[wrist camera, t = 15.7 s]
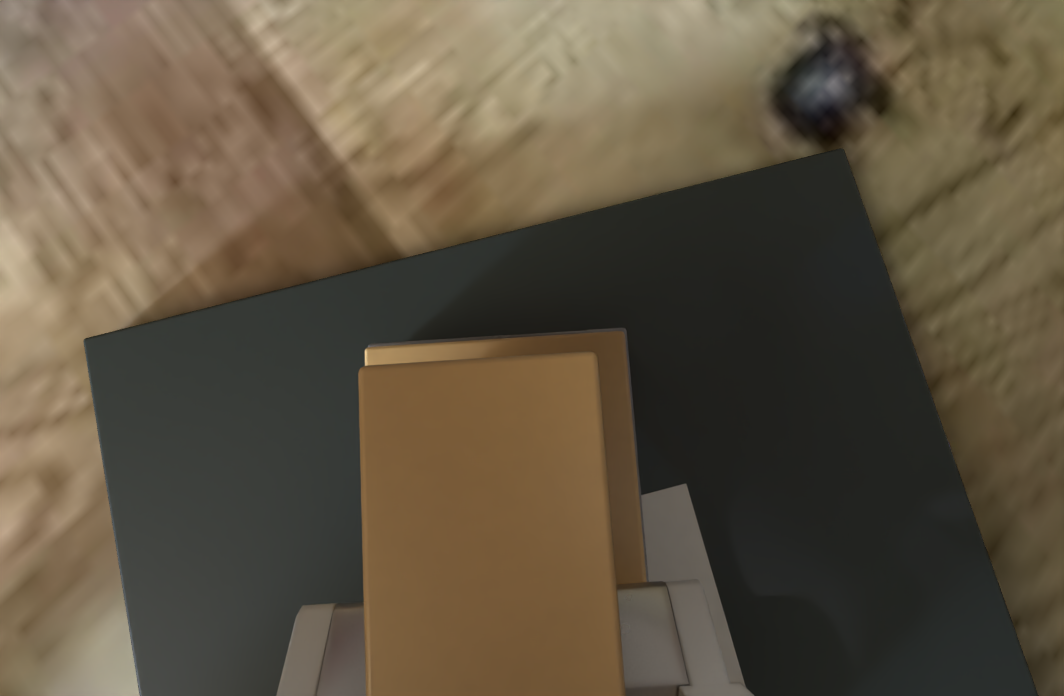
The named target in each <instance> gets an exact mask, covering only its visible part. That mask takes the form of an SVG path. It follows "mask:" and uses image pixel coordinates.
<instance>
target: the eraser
mask: <svg viewBox="0 0 1064 696" xmlns="http://www.w3.org/2000/svg"><path fill="white" fill-rule="evenodd" d="M358 386H359V428H360V471H361V513H362V555H363V597H364V639H365V682H366V696H626V691H625V678H624V666H623V654H622V641H621V629H620V617H619V604H618V592H617V585H618V584H630V583H642V582H649V578H648V567H647V555H646V544H645V533H644V521H643V510H642V499H641V487H640V476H639V465H638V453H637V442H636V431H635V420H634V408H633V397H632V386H631V374H630V363H629V352H628V340H627V331H626V329H625V328H608V329H593V330H577V331H561V332H546V333H530V334H515V335H499V336H483V337H468V338H452V339H436V340H421V341H405V342H389V343H374V344H370V345H368V348H366V349H365V366H364V367H362V368H360V370H359V373H358Z"/></svg>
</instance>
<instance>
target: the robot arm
mask: <svg viewBox="0 0 1064 696" xmlns="http://www.w3.org/2000/svg"><path fill="white" fill-rule="evenodd" d="M617 592H618V604H619V617H620V629H621V641H622V654H623V666H624V678H625V691H626V696H754V695H753V694H752V693H751V692H750V691H749V690H748V689H747V688H746V687H745V686H744V685H743V684H742V683H730V679H729V676H728V672H727V669H726V665H725V662H724V658H723V655H722V651H721V647H720V644H719V640H718V637H717V633H716V630H715V626H714V623H713V619H712V616H711V612H710V608H709V605H708V601H707V598H706V594H705V591H704V587H703V585H702V584H701V582H700V581H699V580H698V579H693V580H680V581H668V582H663V581H654V582H642V583H630V584H618V585H617ZM276 696H366V682H365V639H364V602H357V603H332V604H316V605H302V607H301V609H300V611H299V612H298V614H297V616H296V619H295V623H294V627H293V631H292V635H291V639H290V643H289V647H288V651H287V655H286V659H285V663H284V667H283V671H282V675H281V679H280V683H279V687H278V691H277V695H276Z"/></svg>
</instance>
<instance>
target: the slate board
mask: <svg viewBox="0 0 1064 696" xmlns="http://www.w3.org/2000/svg"><path fill="white" fill-rule="evenodd" d="M608 328H625V329H626V331H627V340H628V352H629V363H630V374H631V386H632V397H633V408H634V420H635V431H636V442H637V453H638V465H639V476H640V487H641V499H642V510H643V521H644V533H645V544H646V555H647V567H648V578H649V582H654V581H663V582H668V581H680V580H693V579H698V580H699V581H700V582H701V584H702V585H703V587H704V591H705V594H706V598H707V601H708V605H709V608H710V612H711V616H712V619H713V623H714V626H715V630H716V633H717V637H718V640H719V644H720V647H721V651H722V655H723V658H724V662H725V665H726V669H727V672H728V676H729V679H730V683H742V684H743V685H744V686H745V687H746V688H747V689H748V690H749V691H750V692H751V693H752V694H753V695H754V696H1038V693H1037V690H1036V687H1035V685H1034V682H1033V679H1032V676H1031V673H1030V671H1029V668H1028V665H1027V662H1026V659H1025V657H1024V654H1023V651H1022V648H1021V645H1020V643H1019V640H1018V637H1017V634H1016V631H1015V629H1014V626H1013V623H1012V620H1011V617H1010V614H1009V612H1008V609H1007V606H1006V603H1005V600H1004V598H1003V595H1002V592H1001V589H1000V586H999V584H998V581H997V578H996V575H995V572H994V570H993V567H992V564H991V561H990V558H989V556H988V553H987V550H986V547H985V544H984V542H983V539H982V536H981V533H980V530H979V527H978V525H977V522H976V519H975V516H974V513H973V511H972V508H971V505H970V502H969V499H968V497H967V494H966V491H965V488H964V485H963V483H962V480H961V477H960V474H959V471H958V469H957V466H956V463H955V460H954V457H953V454H952V452H951V449H950V446H949V443H948V440H947V438H946V435H945V432H944V429H943V426H942V424H941V421H940V418H939V415H938V412H937V410H936V407H935V404H934V401H933V398H932V396H931V393H930V390H929V387H928V384H927V382H926V379H925V376H924V373H923V370H922V367H921V365H920V362H919V359H918V356H917V353H916V351H915V348H914V345H913V342H912V339H911V337H910V334H909V331H908V328H907V325H906V323H905V320H904V317H903V314H902V311H901V309H900V306H899V303H898V300H897V297H896V294H895V292H894V289H893V286H892V283H891V280H890V278H889V275H888V272H887V269H886V266H885V264H884V261H883V258H882V255H881V252H880V250H879V247H878V244H877V241H876V238H875V236H874V233H873V230H872V227H871V224H870V222H869V219H868V216H867V213H866V210H865V207H864V205H863V202H862V199H861V196H860V193H859V191H858V188H857V185H856V182H855V179H854V177H853V174H852V171H851V168H850V165H849V163H848V160H847V157H846V154H845V151H844V149H842V148H841V149H836V150H832V151H828V152H824V153H820V154H816V155H812V156H808V157H804V158H800V159H796V160H792V161H788V162H784V163H780V164H776V165H772V166H769V167H765V168H761V169H757V170H753V171H749V172H745V173H741V174H737V175H733V176H729V177H725V178H721V179H717V180H713V181H709V182H705V183H701V184H697V185H693V186H689V187H685V188H681V189H677V190H673V191H669V192H665V193H661V194H657V195H653V196H649V197H645V198H641V199H637V200H633V201H629V202H625V203H621V204H618V205H614V206H610V207H606V208H602V209H598V210H594V211H590V212H586V213H582V214H578V215H574V216H570V217H566V218H562V219H558V220H554V221H550V222H546V223H542V224H538V225H534V226H530V227H526V228H522V229H518V230H514V231H510V232H506V233H502V234H498V235H494V236H490V237H486V238H482V239H478V240H474V241H470V242H467V243H463V244H459V245H455V246H451V247H447V248H443V249H439V250H435V251H431V252H427V253H423V254H419V255H415V256H411V257H407V258H403V259H399V260H395V261H391V262H387V263H383V264H379V265H375V266H371V267H367V268H363V269H359V270H355V271H351V272H347V273H343V274H339V275H335V276H331V277H327V278H323V279H319V280H316V281H312V282H308V283H304V284H300V285H296V286H292V287H288V288H284V289H280V290H276V291H272V292H268V293H264V294H260V295H256V296H252V297H248V298H244V299H240V300H236V301H232V302H228V303H224V304H220V305H216V306H212V307H208V308H204V309H200V310H196V311H192V312H188V313H184V314H180V315H176V316H172V317H168V318H165V319H161V320H157V321H153V322H149V323H145V324H141V325H137V326H133V327H129V328H125V329H121V330H117V331H113V332H109V333H105V334H101V335H97V336H93V337H89V338H86V339H84V347H85V353H86V359H87V366H88V372H89V378H90V385H91V391H92V397H93V404H94V410H95V416H96V422H97V429H98V435H99V441H100V448H101V454H102V460H103V467H104V473H105V479H106V486H107V492H108V498H109V504H110V511H111V517H112V523H113V530H114V536H115V542H116V549H117V555H118V561H119V568H120V574H121V580H122V586H123V593H124V599H125V605H126V612H127V618H128V624H129V631H130V637H131V643H132V650H133V656H134V662H135V668H136V675H137V681H138V687H139V694H140V696H276V695H277V691H278V687H279V683H280V679H281V675H282V671H283V667H284V663H285V659H286V655H287V651H288V647H289V643H290V639H291V635H292V631H293V627H294V623H295V619H296V616H297V614H298V612H299V611H300V609H301V607H302V605H316V604H332V603H357V602H364V597H363V555H362V513H361V471H360V428H359V386H358V373H359V370H360V368H362V367H364V366H365V349H366V348H368V345H370V344H374V343H389V342H405V341H421V340H436V339H452V338H468V337H483V336H499V335H515V334H530V333H546V332H561V331H577V330H593V329H608Z"/></svg>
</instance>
